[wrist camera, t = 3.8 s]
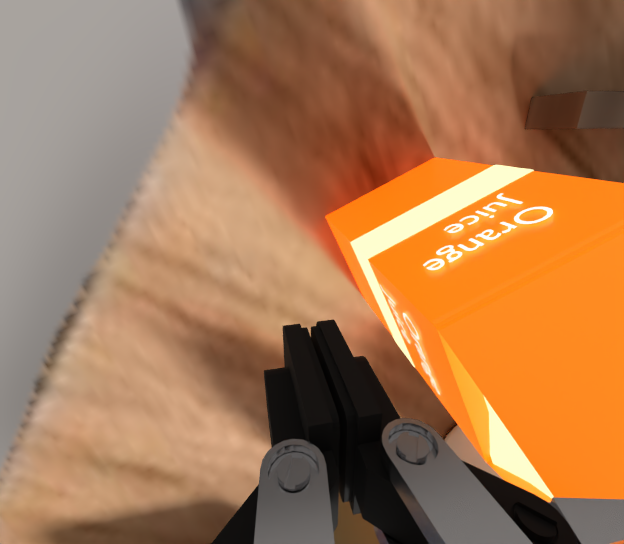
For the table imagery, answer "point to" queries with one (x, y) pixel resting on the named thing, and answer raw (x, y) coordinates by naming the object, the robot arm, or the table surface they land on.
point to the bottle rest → (577, 110)
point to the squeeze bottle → (353, 527)
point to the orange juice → (506, 311)
